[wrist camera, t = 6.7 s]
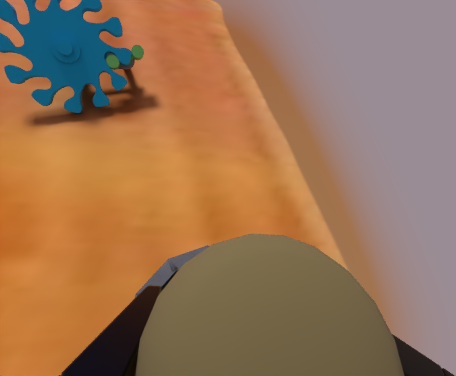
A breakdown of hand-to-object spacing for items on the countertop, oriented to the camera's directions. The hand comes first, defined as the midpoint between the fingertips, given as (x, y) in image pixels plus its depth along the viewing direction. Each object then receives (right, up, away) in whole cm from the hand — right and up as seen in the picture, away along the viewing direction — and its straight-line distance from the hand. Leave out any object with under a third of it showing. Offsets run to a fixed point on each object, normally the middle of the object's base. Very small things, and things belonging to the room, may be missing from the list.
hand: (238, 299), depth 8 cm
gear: (-14, +13, +17) cm, 26 cm away
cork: (-1, -4, +5) cm, 7 cm away
